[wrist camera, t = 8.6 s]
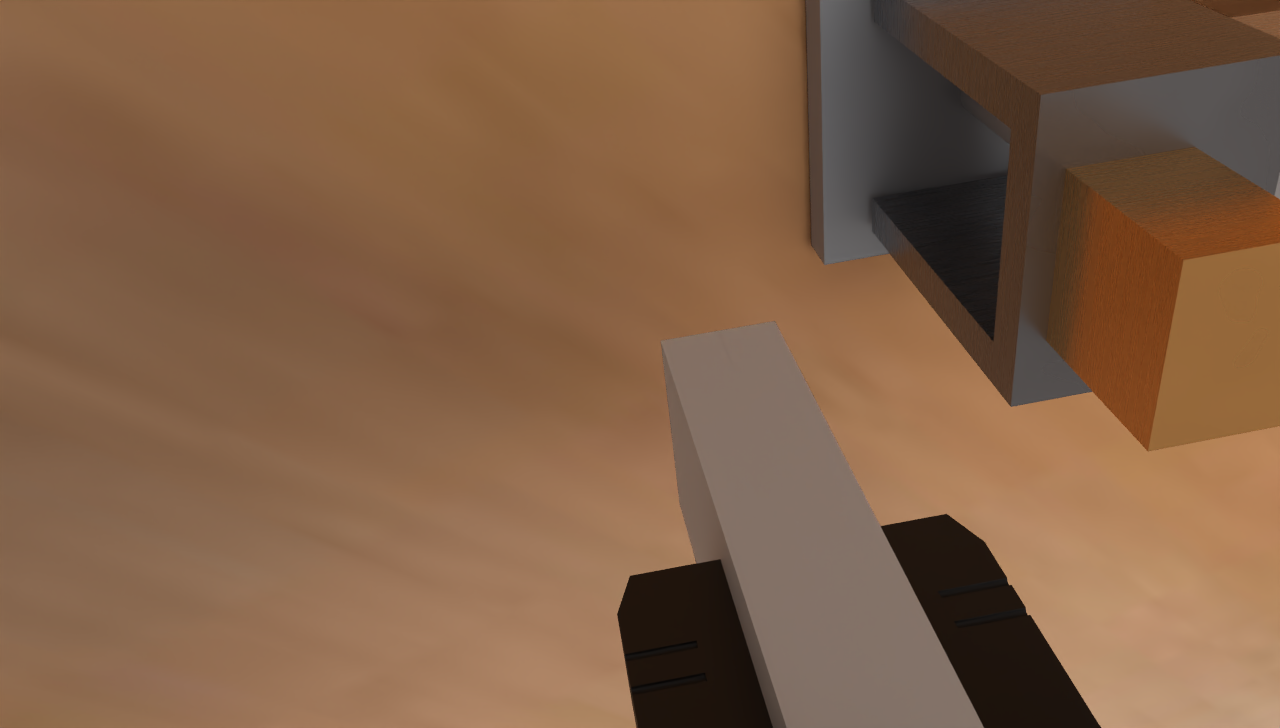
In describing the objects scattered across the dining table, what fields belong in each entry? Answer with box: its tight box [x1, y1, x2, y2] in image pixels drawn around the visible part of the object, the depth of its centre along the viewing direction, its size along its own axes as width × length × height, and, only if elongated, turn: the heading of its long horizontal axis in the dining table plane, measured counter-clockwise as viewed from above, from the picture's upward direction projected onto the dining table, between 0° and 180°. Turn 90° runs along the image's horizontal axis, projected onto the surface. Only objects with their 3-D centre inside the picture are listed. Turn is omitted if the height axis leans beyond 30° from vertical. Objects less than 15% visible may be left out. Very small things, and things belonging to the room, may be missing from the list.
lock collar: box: [872, 0, 1280, 451], centre depth 19 cm, size 4×5×10 cm
